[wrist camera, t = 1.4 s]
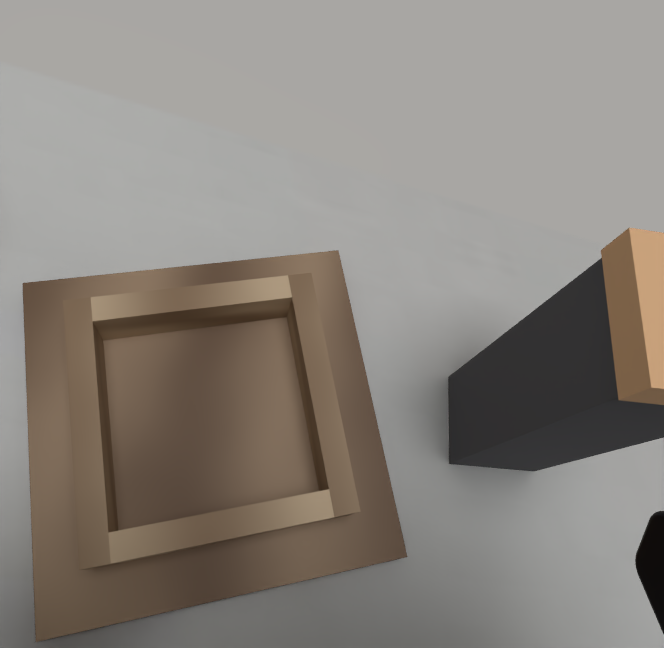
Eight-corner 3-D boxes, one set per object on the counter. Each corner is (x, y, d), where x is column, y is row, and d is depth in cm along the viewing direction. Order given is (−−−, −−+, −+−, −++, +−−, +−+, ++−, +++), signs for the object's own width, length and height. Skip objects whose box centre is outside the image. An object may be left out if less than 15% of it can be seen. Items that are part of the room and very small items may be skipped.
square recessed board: (334, 259, 23) (347, 226, 21) (400, 556, 20) (424, 557, 17) (29, 292, 21) (4, 259, 18) (43, 638, 17) (15, 652, 15)
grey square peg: (537, 474, 22) (812, 405, 12) (446, 466, 21) (651, 387, 11) (531, 383, 23) (774, 250, 13) (445, 374, 22) (629, 227, 12)
